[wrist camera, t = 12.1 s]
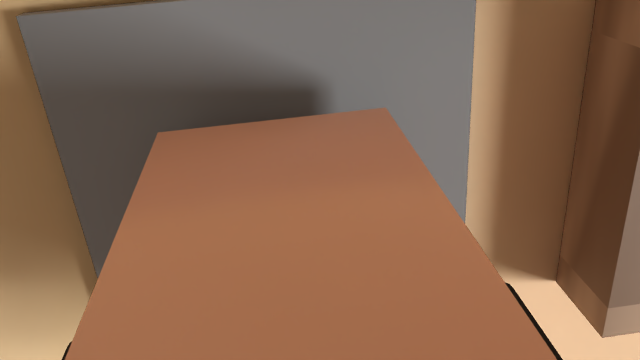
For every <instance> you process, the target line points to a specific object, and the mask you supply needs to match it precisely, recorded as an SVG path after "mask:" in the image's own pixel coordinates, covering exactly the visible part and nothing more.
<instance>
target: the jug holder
mask: <svg viewBox="0 0 640 360" xmlns="http://www.w3.org/2000/svg"><path fill="white" fill-rule="evenodd" d="M556 282H557V284H558V285H559V286H560V287H561V288H562V290H563V291H564V292H565V293H566V294H567V296H568V297H569V298H570V299H571V301H572V302H573V303H574V304H575V305H576V307H577V308H578V309H579V310H580V311H581V313H582V314H583V315H584V316H585V317H586V319H587V320H588V321H589V322H590V324H591V325H592V326H593V327H594V328H595V330H596V331H597V332H598V333H599V334H600V336H601V337H602V338H604V337H611V336H618V335H625V334H632V333H639V332H640V0H596V6H595V13H594V20H593V27H592V34H591V41H590V48H589V55H588V62H587V69H586V76H585V83H584V90H583V97H582V104H581V111H580V118H579V125H578V132H577V139H576V146H575V153H574V160H573V167H572V174H571V181H570V188H569V195H568V202H567V209H566V216H565V223H564V230H563V237H562V244H561V251H560V258H559V265H558V272H557V279H556Z"/></svg>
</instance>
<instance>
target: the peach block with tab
mask: <svg viewBox="0 0 640 360" xmlns="http://www.w3.org/2000/svg"><path fill="white" fill-rule="evenodd" d="M65 360H557V359H556V357H555V356H554V354H553V353H552V351H551V350H550V349H549V347H548V346H547V344H546V343H545V341H544V340H543V338H542V337H541V335H540V334H539V332H538V331H537V329H536V328H535V326H534V325H533V323H532V322H531V321H530V319H529V318H528V316H527V315H526V313H525V312H524V310H523V309H522V307H521V306H520V304H519V303H518V301H517V300H516V298H515V297H514V296H513V294H512V293H511V291H510V290H509V288H508V287H507V285H506V284H505V282H504V281H503V279H502V278H501V276H500V275H499V273H498V272H497V270H496V269H495V268H494V266H493V265H492V263H491V262H490V260H489V259H488V257H487V256H486V254H485V253H484V251H483V250H482V248H481V247H480V245H479V244H478V242H477V241H476V240H475V238H474V237H473V235H472V234H471V232H470V231H469V229H468V228H467V226H466V225H465V223H464V222H463V220H462V219H461V217H460V216H459V215H458V213H457V212H456V210H455V209H454V207H453V206H452V204H451V203H450V201H449V200H448V198H447V197H446V195H445V194H444V192H443V191H442V189H441V188H440V187H439V185H438V184H437V182H436V181H435V179H434V178H433V176H432V175H431V173H430V172H429V170H428V169H427V167H426V166H425V164H424V163H423V161H422V160H421V159H420V157H419V156H418V154H417V153H416V151H415V150H414V148H413V147H412V145H411V144H410V142H409V141H408V139H407V138H406V136H405V135H404V134H403V132H402V131H401V129H400V128H399V126H398V125H397V123H396V122H395V120H394V119H393V117H392V116H391V114H390V113H389V111H388V110H387V108H376V109H367V110H358V111H349V112H340V113H331V114H322V115H313V116H303V117H294V118H285V119H276V120H267V121H258V122H249V123H240V124H231V125H221V126H212V127H203V128H194V129H185V130H176V131H167V132H158V133H157V136H156V138H155V141H154V143H153V146H152V148H151V151H150V153H149V155H148V158H147V160H146V163H145V165H144V168H143V170H142V172H141V175H140V177H139V180H138V182H137V185H136V187H135V190H134V192H133V194H132V197H131V199H130V202H129V204H128V207H127V209H126V212H125V214H124V216H123V219H122V221H121V224H120V226H119V229H118V231H117V233H116V236H115V238H114V241H113V243H112V246H111V248H110V251H109V253H108V255H107V258H106V260H105V263H104V265H103V268H102V270H101V273H100V275H99V277H98V280H97V282H96V285H95V287H94V290H93V292H92V294H91V297H90V299H89V302H88V304H87V307H86V309H85V312H84V314H83V316H82V319H81V321H80V324H79V326H78V329H77V331H76V334H75V336H74V338H73V341H72V343H71V346H70V348H69V351H68V353H67V356H66V358H65Z"/></svg>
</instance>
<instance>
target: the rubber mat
mask: <svg viewBox="0 0 640 360" xmlns="http://www.w3.org/2000/svg"><path fill="white" fill-rule="evenodd" d="M475 12H476V0H157V1H146V2H136V3H125V4H114V5H104V6H93V7H82V8H72V9H61V10H50V11H40V12H29V13H22V14H20V15H18V16H16V18H17V21H18V24H19V27H20V31H21V34H22V37H23V40H24V43H25V47H26V50H27V53H28V56H29V59H30V63H31V66H32V69H33V72H34V75H35V79H36V82H37V85H38V88H39V91H40V95H41V98H42V101H43V104H44V108H45V111H46V114H47V117H48V120H49V124H50V127H51V130H52V133H53V136H54V140H55V143H56V146H57V149H58V152H59V156H60V159H61V162H62V165H63V169H64V172H65V175H66V178H67V181H68V185H69V188H70V191H71V194H72V197H73V201H74V204H75V207H76V210H77V213H78V217H79V220H80V223H81V226H82V230H83V233H84V236H85V239H86V242H87V246H88V249H89V252H90V255H91V258H92V262H93V265H94V268H95V271H96V274H97V278H98V277H99V275H100V273H101V270H102V268H103V265H104V263H105V260H106V258H107V255H108V253H109V251H110V248H111V246H112V243H113V241H114V238H115V236H116V233H117V231H118V229H119V226H120V224H121V221H122V219H123V216H124V214H125V212H126V209H127V207H128V204H129V202H130V199H131V197H132V194H133V192H134V190H135V187H136V185H137V182H138V180H139V177H140V175H141V172H142V170H143V168H144V165H145V163H146V160H147V158H148V155H149V153H150V151H151V148H152V146H153V143H154V141H155V138H156V136H157V133H158V132H167V131H176V130H185V129H194V128H203V127H212V126H221V125H231V124H240V123H249V122H258V121H267V120H276V119H285V118H294V117H303V116H313V115H322V114H331V113H340V112H349V111H358V110H367V109H376V108H387V110H388V111H389V113H390V114H391V116H392V117H393V119H394V120H395V122H396V123H397V125H398V126H399V128H400V129H401V131H402V132H403V134H404V135H405V136H406V138H407V139H408V141H409V142H410V144H411V145H412V147H413V148H414V150H415V151H416V153H417V154H418V156H419V157H420V159H421V160H422V161H423V163H424V164H425V166H426V167H427V169H428V170H429V172H430V173H431V175H432V176H433V178H434V179H435V181H436V182H437V184H438V185H439V187H440V188H441V189H442V191H443V192H444V194H445V195H446V197H447V198H448V200H449V201H450V203H451V204H452V206H453V207H454V209H455V210H456V212H457V213H458V215H459V216H460V217H461V219H462V220H463V222H464V223H465V214H466V194H467V174H468V154H469V134H470V113H471V93H472V73H473V53H474V32H475Z"/></svg>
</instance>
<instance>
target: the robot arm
mask: <svg viewBox="0 0 640 360" xmlns="http://www.w3.org/2000/svg"><path fill="white" fill-rule="evenodd" d="M505 284H506V285H507V287H508V288H509V290H510V291H511V293H512V294H513V296H514V297H515V298H516V300H517V301H518V303H519V304H520V306H521V307H522V309H523V310H524V312H525V313H526V315H527V316H528V318H529V319H530V321H531V322H532V323H533V325H534V326H535V328H536V329H537V331H538V332H539V334H540V335H541V337H542V338H543V340H544V341H545V343H546V344H547V346H548V347H549V349H550V350H551V351H552V353H553V354H554V356H555V357H556V359H557V360H563V359H562V358H561V356H560V355H559V354H558V352H557V351H556V349H555V348H554V346H553V345H552V343H551V342H550V341H549V339H548V338H547V336H546V335H545V333H544V332H543V330H542V329H541V328H540V326H539V325H538V323H537V322H536V320H535V319H534V317H533V316H532V315H531V313H530V312H529V310H528V309H527V307H526V306H525V304H524V303H523V301H522V300H521V299H520V297H519V296H518V294H517V293H516V291H515V290H514V289H513V287H512V286H511V285H510V284H508V283H505ZM71 343H72V342H70V343H69V345H68V347H67V349H66V351H65V353H64V356H63V358H62V360H65V358H66V356H67V353H68V351H69V348H70V346H71Z"/></svg>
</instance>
